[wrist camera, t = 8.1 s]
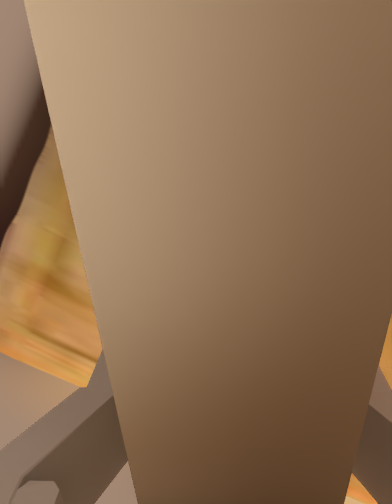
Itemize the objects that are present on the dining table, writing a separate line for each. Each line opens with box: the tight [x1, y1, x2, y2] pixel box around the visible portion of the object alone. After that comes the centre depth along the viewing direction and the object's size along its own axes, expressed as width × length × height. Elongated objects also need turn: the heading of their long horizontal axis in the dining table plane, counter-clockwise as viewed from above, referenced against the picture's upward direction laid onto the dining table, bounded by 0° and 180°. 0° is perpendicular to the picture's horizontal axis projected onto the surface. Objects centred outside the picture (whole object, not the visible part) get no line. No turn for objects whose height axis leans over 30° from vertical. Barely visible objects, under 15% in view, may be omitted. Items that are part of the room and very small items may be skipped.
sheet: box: [24, 0, 392, 504], centre depth 13 cm, size 2×14×18 cm, turn 3°
